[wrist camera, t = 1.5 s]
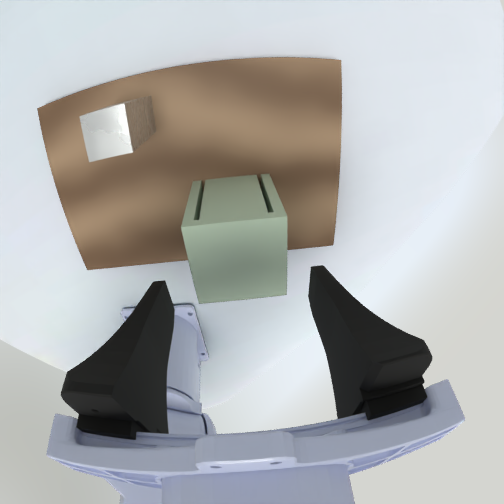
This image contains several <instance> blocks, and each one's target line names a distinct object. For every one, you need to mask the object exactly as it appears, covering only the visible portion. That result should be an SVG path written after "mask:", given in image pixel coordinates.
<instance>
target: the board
mask: <svg viewBox="0 0 504 504" xmlns="http://www.w3.org/2000/svg"><path fill="white" fill-rule="evenodd" d="M147 96H151V97H152V105H153V112H154V119H155V126H156V133H154V134H153V135H152V136H151V137H150V138H149V139H147V140H146V141H145V142H144V143H143V144H142V145H141V146H140V147H138V148H137V149H136V150H135V151H134V152H133V153H128V154H123V155H119V156H114V157H110V158H105V159H101V160H97V161H93V162H89V159H88V155H87V151H86V146H85V142H84V137H83V132H82V127H81V122H80V116H82V115H84V114H87V113H90V112H93V111H96V110H98V109H101V108H104V107H107V106H111V105H114V104H117V103H121V102H125V101H129V100H133V99H138V98H142V97H147ZM37 109H38V115H39V120H40V125H41V130H42V135H43V140H44V144H45V148H46V152H47V156H48V160H49V164H50V168H51V171H52V175H53V178H54V182H55V185H56V188H57V191H58V195H59V198H60V201H61V204H62V207H63V210H64V213H65V215H66V218H67V221H68V224H69V226H70V229H71V232H72V234H73V237H74V239H75V242H76V244H77V247H78V249H79V252H80V254H81V256H82V259H83V261H84V263H85V266H86V268H87V270H93V269H103V268H113V267H123V266H133V265H143V264H153V263H163V262H173V261H183V260H188V257H187V252H186V248H185V243H184V239H183V234H182V230H181V225H182V221H183V217H184V213H185V209H186V206H187V202H188V198H189V194H190V190H191V187H192V183H193V181H200V180H201V181H202V188H203V192H204V186H205V180H208V179H217V178H227V177H237V176H247V175H257V178H258V181H259V184H260V188H261V174H269V175H270V177H271V179H272V181H273V184H274V186H275V188H276V191H277V193H278V195H279V198H280V200H281V202H282V205H283V207H284V210H285V212H286V214H287V250H292V249H302V248H312V247H321V246H331V245H333V243H334V234H335V224H336V213H337V201H338V187H339V172H340V152H341V120H342V76H341V60H334V59H320V58H295V57H271V58H246V59H231V60H220V61H211V62H203V63H196V64H189V65H182V66H176V67H171V68H165V69H160V70H155V71H151V72H146V73H142V74H138V75H133V76H129V77H126V78H122V79H118V80H115V81H111V82H108V83H104V84H101V85H98V86H95V87H92V88H89V89H86V90H83V91H80V92H77V93H74V94H72V95H69V96H66V97H64V98H61V99H59V100H56V101H54V102H51V103H49V104H46V105H44V106H42V107H40V108H37ZM261 191H262V189H261Z"/></svg>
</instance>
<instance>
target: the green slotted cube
mask: <svg viewBox="0 0 504 504" xmlns="http://www.w3.org/2000/svg"><path fill="white" fill-rule="evenodd" d="M261 189H262V191H261ZM181 230H182V234H183V239H184V243H185V248H186V252H187V257H188V261H189V265H190V270H191V274H192V278H193V282H194V286H195V290H196V294H197V298H198V302H199V304H202V303H214V302H225V301H235V300H245V299H255V298H264V297H273V296H282V295H287V214H286V212H285V210H284V207H283V205H282V202H281V200H280V198H279V195H278V193H277V191H276V188H275V186H274V184H273V181H272V179H271V177H270V175H269V174H261V188H260V184H259V181H258V178H257V175H247V176H237V177H227V178H217V179H208V180H205V186H204V192H203V188H202V181H201V180H200V181H193V183H192V187H191V190H190V194H189V198H188V202H187V206H186V209H185V213H184V217H183V221H182V225H181Z"/></svg>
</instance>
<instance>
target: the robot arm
mask: <svg viewBox="0 0 504 504" xmlns="http://www.w3.org/2000/svg"><path fill="white" fill-rule="evenodd" d="M308 297H309V302H310V307H311V311H312V315H313V318H314V321H315V323H316V326H317V329H318V332H319V335H320V337H321V340H322V343H323V346H324V349H325V352H326V356H327V360H328V364H329V369H330V374H331V379H332V384H333V390H334V396H335V402H336V409H337V417H338V419H336V420H331V421H326V422H321V423H316V424H310V425H304V426H298V427H292V428H285V429H277V430H268V431H258V432H247V433H233V434H232V433H231V434H216V429H215V426H214V424H213V422H212V421H211V419H210V417H209V416H208V415H207V414H205V413H202V412H201V411H202V403H200V402H199V401H200V365H201V361H207V360H208V359H209V356H208V353H207V349H206V346H205V343H204V340H203V336H202V333H201V329H200V326H199V323H198V319H197V316H196V312H195V309H194V306H192V305H177V306H173V303H172V300H171V297H170V294H169V291H168V288H167V285H166V282H165V281H155V282H153V283H152V284H151V286H150V287H149V289H148V290H147V292H146V293H145V295H144V296H143V298H142V299H141V300H140V302H139V303H138V305H137V306H136V307H135V308H129V309H122V311H121V315H122V317H123V319H124V321H125V322H124V323H123V325H122V326H121V327H120V328H119V329H118V330H117V332H116V333H115V334H114V335H113V336H112V337H111V338H110V339H109V340H108V341H107V342H106V343H105V344H104V345H103V346H101V347H100V348H99V349H98V350H97V351H96V352H95V353H93V354H92V355H91V356H90V357H88V358H87V359H86V360H85V361H83V362H82V363H80V364H79V365H77V366H76V367H74V368H73V369H71V370H70V371H68V372H67V374H66V378H65V381H64V384H63V388H62V391H61V396H62V398H63V400H64V401H65V402H66V403H67V404H68V405H69V406H70V407H71V408H73V409H74V410H75V411H76V412H77V413H78V414H79V417H78V419H76V418H74V417H71V416H65V415H60V414H55V416H54V420H53V425H52V429H51V434H50V439H49V444H48V449H47V454H46V455H47V456H48V457H49V458H51V459H53V460H55V461H57V462H59V463H61V464H63V465H65V466H67V467H69V468H71V469H73V470H76V471H79V472H82V473H86V474H90V475H94V476H98V477H102V478H104V479H105V480H106V481H107V482H108V483H109V484H110V485H111V486H112V487H113V488H114V489H116V490H117V491H118V492H119V493H120V494H121V496H120V504H355V502H354V497H353V493H352V488H351V483H350V479H349V475H350V474H353V473H357V472H360V471H363V470H366V469H369V468H372V467H375V466H377V465H380V464H383V463H386V462H388V461H391V460H394V459H396V458H399V457H401V456H403V455H406V454H408V453H411V452H413V451H415V450H418V449H420V448H422V447H424V446H426V445H429V444H431V443H433V442H435V441H437V440H440V439H441V438H443V437H444V436H446V435H447V434H448V433H450V432H451V431H452V430H454V429H455V428H456V427H458V426H459V425H460V424H461V423H463V422H464V421H465V417H464V415H463V412H462V410H461V407H460V405H459V403H458V400H457V398H456V396H455V394H454V391H453V389H452V387H451V385H450V383H449V381H448V380H447V379H446V380H444V381H441V382H439V383H436V384H433V385H431V386H429V387H427V388H426V389H424V387H423V385H422V384H423V383H424V379H423V377H422V375H423V374H424V372H425V371H426V369H427V368H428V367H429V365H430V363H431V361H432V355H431V353H430V351H429V349H428V346H427V345H426V343H425V342H424V340H422V339H420V338H417V337H415V336H413V335H410V334H408V333H406V332H404V331H402V330H400V329H398V328H396V327H394V326H393V325H391V324H389V323H387V322H386V321H384V320H383V319H381V318H380V317H378V316H377V315H375V314H374V313H373V312H371V311H370V310H368V309H367V308H366V307H365V306H363V305H362V304H361V303H360V302H359V301H358V300H356V299H355V298H354V297H353V296H352V295H351V294H350V293H349V292H348V291H347V290H346V289H345V288H344V287H343V286H342V285H341V284H340V283H339V282H338V281H337V280H336V279H335V278H334V277H333V276H332V274H331V273H330V272H329V271H328V270H327V269H326V268H325V267H324V266H323V265H322V266H313V267H311V273H310V284H309V295H308ZM189 312H191V313H189ZM127 316H128V317H127Z"/></svg>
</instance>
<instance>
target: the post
mask: <svg viewBox="0 0 504 504" xmlns="http://www.w3.org/2000/svg"><path fill="white" fill-rule="evenodd" d="M80 122H81V127H82V132H83V137H84V142H85V146H86V151H87V155H88V159H89V162H93V161H97V160H101V159H105V158H110V157H114V156H119V155H123V154H128V153H133V152H134V151H135V150H136V149H137V148H138V147H140V146H141V145H142V144H143V143H144V142H145V141H146V140H147V139H149V138H150V137H151V136H152V135H153V134H154V133H156V126H155V119H154V112H153V105H152V97H151V96H147V97H142V98H138V99H133V100H129V101H125V102H121V103H117V104H114V105H111V106H107V107H104V108H101V109H98V110H96V111H93V112H90V113H87V114H84V115H82V116H80Z"/></svg>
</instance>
